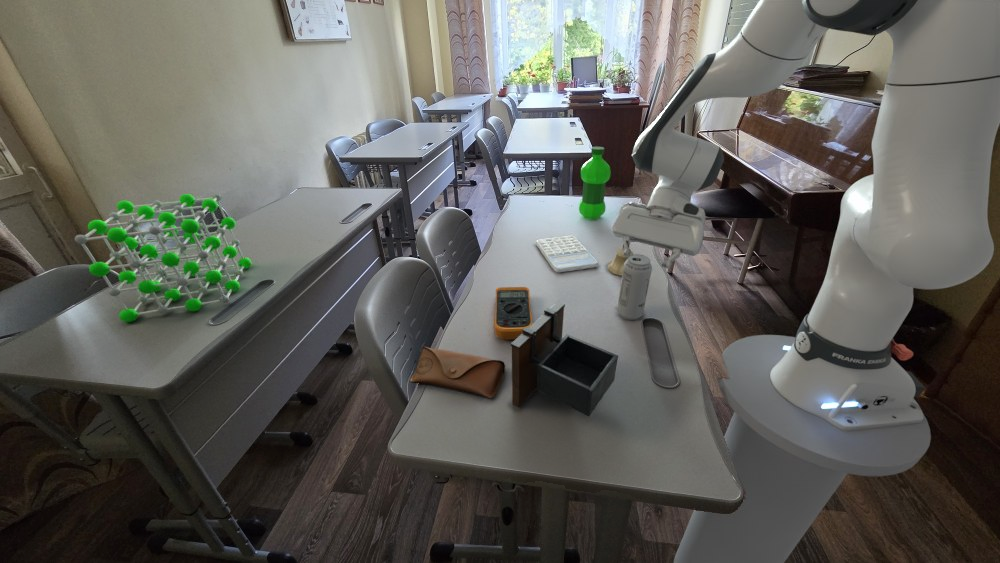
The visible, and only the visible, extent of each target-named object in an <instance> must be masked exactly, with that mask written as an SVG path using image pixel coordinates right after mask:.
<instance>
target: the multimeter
mask: <svg viewBox="0 0 1000 563" xmlns="http://www.w3.org/2000/svg"><path fill="white" fill-rule="evenodd" d="M530 299H531V298H530V289H529V288H528V287H526V286H502V287H497V288H496V289H495V310H494V311H495V312H494V313H495V314H494V333H495V335H496V336H497V337H498V338H499V339H501V340H515V339H517V338H518V337H519V336H520V335H521V334H522V333H523V332H522V330H523V329H524V328H525V327H527V328H529V327H530V326H531V325H532V324H533V323H534V322H533V318H532V309H531V300H530Z"/></svg>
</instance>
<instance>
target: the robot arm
mask: <svg viewBox="0 0 1000 563" xmlns="http://www.w3.org/2000/svg"><path fill="white" fill-rule="evenodd" d="M829 29H830V30H835V31H840V32H848V33H855V34H860V35H866V36H876V35H879V34H882V33H884V32H886V33H887V34H888V35H889V36H890V38H891V40H892V46H893V47H892V48H893V49H892V56H891V62H890V66H889V69H888V74H887V77H886V81H885V85H884V89H883V93H882V97H881V102H880V106H879V111H878V113H877V114H878V115H877V118H876V124H875V127H874V131H873V136H872V139H871V153H872V162H873V164H872V165H873V174H870V175H866V176H864V177H862V178H860V179H858V180H857V181H855V182H854V183H853V184H851V185H850V186H849V188H848V189H847V190H846V191H845V192H844V194H843V196H842V198H841V201H840V210H839V211H840V214H839V220H838V224H837V229H836V231H835V235H834V238H833V243H832V247H831V251H830V256H829V260H828V265H827V270H826V272H825V273H826V274H825V277H824V280H823V282H822V285H821V287H820V289H819V291H818V294H817V296H816V298H815V300H814V303H813V304H812V307H811V309H810V310H809V313H807V314H806V315H805V316H804V318H803V319H802V321H801V323H800V324H799V327H798V329H797V332H796V335H795V342H794V343H793V344H792V346H784V347H783V350H788V352H787V353H786V354H785V355H784V357H783V358H782V359H781V360H780V362H779V363H778V364H777V365H776V366H774V367H773V369H772V370H771V373H770V378H771V381H772V384H773V385H774V387H775V388H776V390H777V391H778V392H779V393H780V394H781V395H782V396H783V397H784V398H786V399H787V400H788V401H789V402H791V403H792V404H794V405H795V406H797V407H799V408H801V409H803V410H805V411H807V412H809V413H811V414H814V415H816V416H819V417H821V418H823V419H825V420H826V421H828V422H829V423H831V424H832V425H834V426H835V427H837V428H839V429H841V430H844V431H854V430H863V429H872V428H881V427H890V426H899V425H908V424H917V423H921V422H922V420H923V414H924V412H923V410H922V409H921V406H920V405H919V403H918V402H917V401H916V400H915V398H919V397H920V396H921V394H923V392H924V391H925V389H926V387H925V386H924V385H923V383H921V381H920V380H919V379H918V377H916V376H915V375H914V374H913V372H911V371H910V370H905V369H904V368H903V366H901V365H900V364H899V363H898V362H897V361H896V360H895V359H894V358H893V357H892V354H894V355H895V356H896V358H897V359H898V360H900V361H908V360H909V359H911V358H912V357H913V356H914V351H912V350H911V349H909V348H907V346H906V345H905V344H903V343H896V342H895V339H894V337H895V335H896V334H897V332H898V331H899V329H900V328H901V326H902V324H903V322H904V321H905V319H906V318H907V316H908V314H909V313H910V311H911V309H912V308H913V304H914V289H919V290H942V289H946V288H952V287H955V286H957V285H961V284H963V283H965V282H967V281H970V280H971V279H973V278H975V277H976V276H977V275H979V274H980V273H981V272H982V271H984V270H985V268H986V267H987V266H988V265H989V263H990V262H991V260H992V258H993V256H994V253H995V252H994V251H995V245H994V240H993V237H992V234H991V231H990V226H989V220H988V206H989V192H990V178H991V164H992V156H993V150H994V149H993V148H994V144H995V140H996V135H997V132H998V129H999V127H1000V0H758V1H757V3H756V4H755V6H754V7H753V10H752V11H751V13H749V15H748V17H747V19H746V20H745V22H744V23H743V25H742V27H741V29H740V30H739V32H738V33H737V35H736V36H735V37H734V38H733V39H732V40H731V41H730V42H729V43H728V44H727V45H726V46H724V47H723V48H721V49H720V50H719V51H717V52H713V53H709V54H706V55H705V56H703V57H702V59H700V61H698V62H697V63H696V65H695V66H694V67H693V68H692V69H691V70H690V72H689V73H688V74H687V76H686V77H685V78H684V80H682V81H681V83H680V85H679V86H678V87H677V88H676V90H675V91H674V93H672V96H670V98H669V99H668V100H667V102H666V103H665V105H664V106H663V107H662V109H661V110H660V111H659V113H658V114H657V115H656V116H655V118H654V119H653V120H652V122H651V123H649V125H648V126H647V127H646V129H644V131H642V133H641V134H640V135H639V136H638V138H637V140H636V141H635V143H634V146H633V149H632V154H631V158H632V160H633V162H634V164H635V166H636V168H637V169H638V171H641V172H646V173H649V174H654V175H656V176H658V183H657V185H656V186H655V188H653V191H652V192H651V194H650V197H649V200H648V202H647V204H645V203H639V202H634V201H629V202H626V203H624V204H622V205H621V207H620V210H619V212H618V215H617V217H616V219H615V220H614V223H613V224H612V226H611V229H612V232H613V234H614V236H615V237H616V238H619V239H622V243H623V244H624V250H623V252H622V255H623V256H625V257H629V256H630V254H631V251H632V250H631V248H630V247H629V248H628V245H627V243H628V244H629V245H631V242H637V243H639V244H644V245H648V246H652V247H656V248H660V249H664V250H667V251H671V252H672V254H671V255H670V256H669V257H668V258H667V257H664V258H663V261H662V263H661V267H662V268H665V269H670V267H671V265H672V263H673V262H674V261H677V259H678V258H680V256H681V254H683V255H687V256H692V257H695V256H697V255H699V253H700V251H701V249H702V246H703V242H704V238H705V237H704V236H705V229H704V226H705V223H706V218H707V217H706V212H705V210H704V208H702V207H701V206H699V205H696V204H694V203H692V195H693V193H694V192H699V191H702V190H704V189H706V188H709V187H711V186H713V185H714V183H715V182H716V181H717V179H718V176H719V174H720V171H721V169H722V167H723V164H724V162H725V156H724V152H723V150H722V148H721V146H719V145H717V144H716V143H713V142H711V141H708V140H705V139H702V138H699V137H695V136H692V135H690V134H687V133H684V132H681V131H678V130H677V129H675V128H676V126H677V125H678V124H679V123H680V122H681V120H683V118H684V117H685V115H686V114H687V113H688V112H689V110H691V108H692V107H693V106H694V105H696V104H698V103H700V102H702V101H706V100H712V99H721V98H742V99H743V98H752V97H753V98H754V97H757V96H761V95H764V94H765V95H766V94H767V93H770V92H772V91H774V90H776V89H778V88H780V87H781V86H783V85H784V83H786V82H787V81H788V80H789V79H790V78H791V77H792V76H793V75H794V73H795V72H796V71H797V70H798V69H799V68H800V67H801V65H802V64H803V63H804V61H805V60H806V59H807V57H808V56H809V55H810V53H811V52H812V51H813V49H814V47H816V45H817V44H818V43H819V41H820V40H821V39H822V37H823V36H824V35H825V34H826V32H828V30H829ZM623 244H622V245H623ZM922 412H923V413H922Z"/></svg>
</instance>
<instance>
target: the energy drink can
mask: <svg viewBox="0 0 1000 563" xmlns="http://www.w3.org/2000/svg"><path fill="white" fill-rule="evenodd" d="M652 270H653V266H652V264H651V258H650V257H648V256H647V255H644V254H638V253H633V255H630V256H629V257H628V259H627V261H626V262H625V263H624V268H623V274H622V276H621V282H620V287H619V294H618V299H617V300H618V302H617V308H616V311H617V313H618V314H619V315H618V316H620V317H621V318H622V319H624V320H628V321H636V320H638V319H640V318H641V317H642V316H643V315H644V312H645V311H644V310H645V305H646V300H647V295H648V290H649V287H650V286H649V285H650V280H651V275H652V272H653V271H652Z"/></svg>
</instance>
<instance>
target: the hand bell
mask: <svg viewBox="0 0 1000 563" xmlns="http://www.w3.org/2000/svg"><path fill="white" fill-rule="evenodd" d="M627 245H628V248H629V249H630V244H628V243H627ZM623 250H624V244H622V248H621V249H619V250H617V251H616V255H615V257H614V259H613V261H611V262H610V263H609V264H608V265H607V269H608V271H609V272H610V273H611V274H613V275H616V276H619V277H622V274H623V268H624V263H625V262H626V261H627V259H628V257H625V256H623V255H622V252H623ZM630 255H634V252H633V251H632V250H631V254H630Z"/></svg>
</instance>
